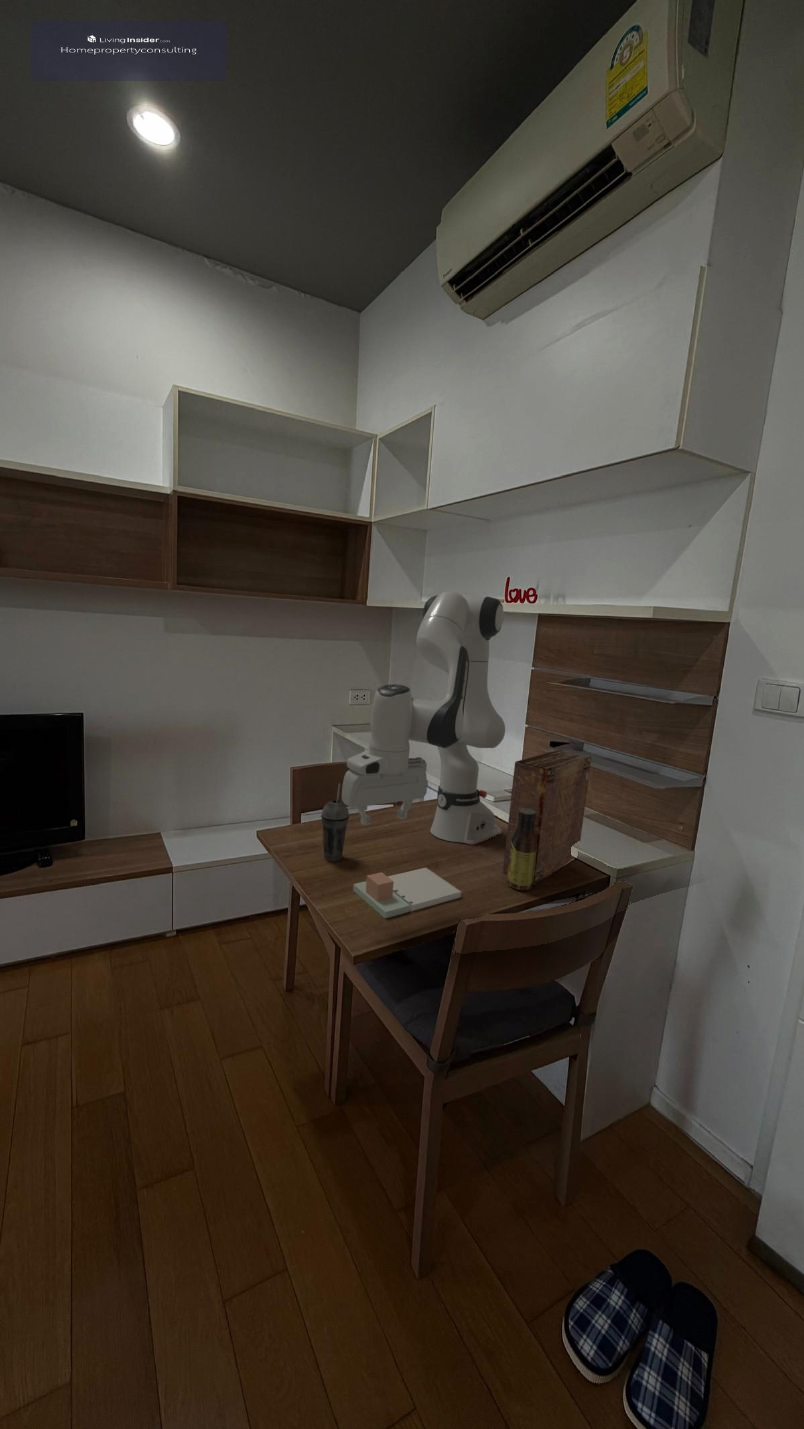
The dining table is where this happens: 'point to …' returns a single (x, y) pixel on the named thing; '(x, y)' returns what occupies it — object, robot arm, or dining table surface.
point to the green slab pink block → (381, 895)
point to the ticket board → (423, 888)
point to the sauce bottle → (523, 852)
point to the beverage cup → (334, 828)
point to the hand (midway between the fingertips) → (383, 820)
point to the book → (550, 806)
